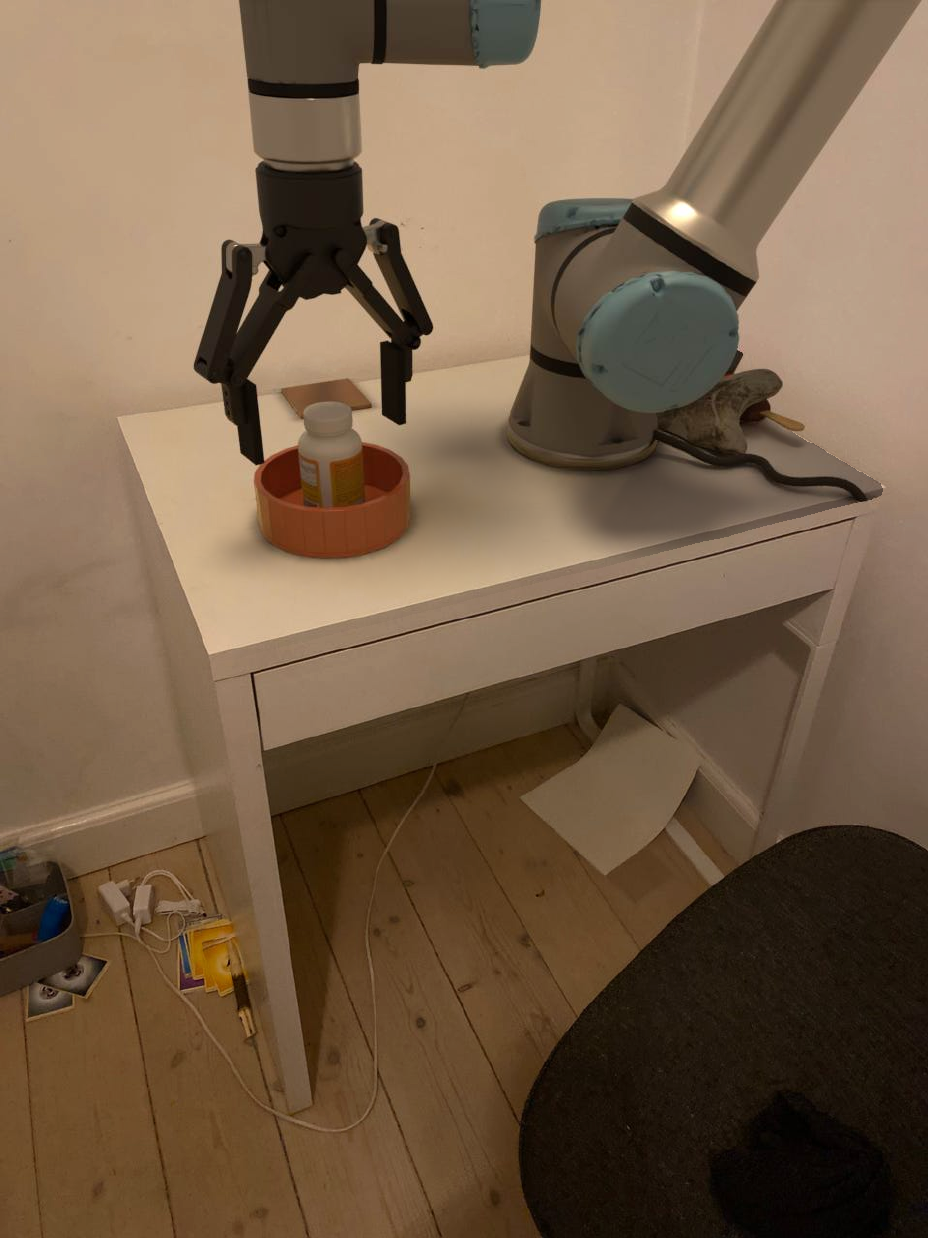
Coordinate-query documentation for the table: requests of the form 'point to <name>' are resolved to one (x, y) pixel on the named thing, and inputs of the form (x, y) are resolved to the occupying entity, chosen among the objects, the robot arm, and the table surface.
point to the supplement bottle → (330, 457)
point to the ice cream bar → (768, 416)
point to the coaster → (325, 395)
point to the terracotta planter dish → (336, 526)
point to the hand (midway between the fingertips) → (326, 438)
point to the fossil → (721, 411)
